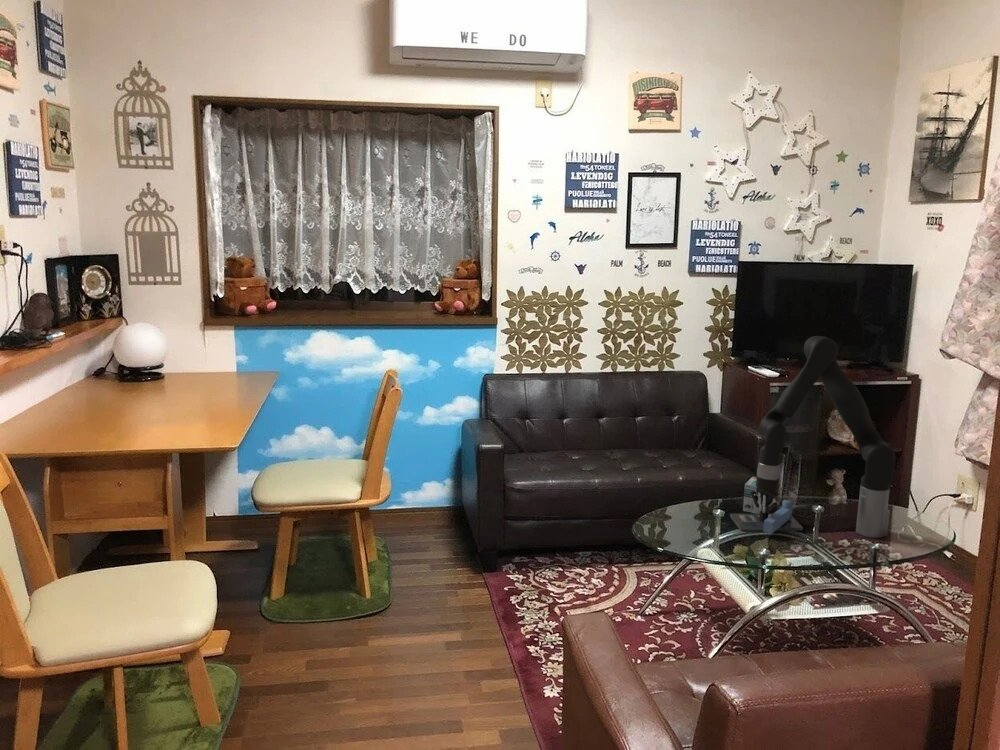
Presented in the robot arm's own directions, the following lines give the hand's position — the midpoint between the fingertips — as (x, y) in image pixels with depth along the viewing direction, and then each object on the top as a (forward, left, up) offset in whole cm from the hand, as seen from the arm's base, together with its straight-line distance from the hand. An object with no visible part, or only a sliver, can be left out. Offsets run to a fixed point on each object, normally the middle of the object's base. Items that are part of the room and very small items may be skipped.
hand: (763, 521), depth 282 cm
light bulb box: (-4, -20, -3) cm, 21 cm away
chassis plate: (-3, -6, -3) cm, 7 cm away
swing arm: (-6, -1, -1) cm, 6 cm away
